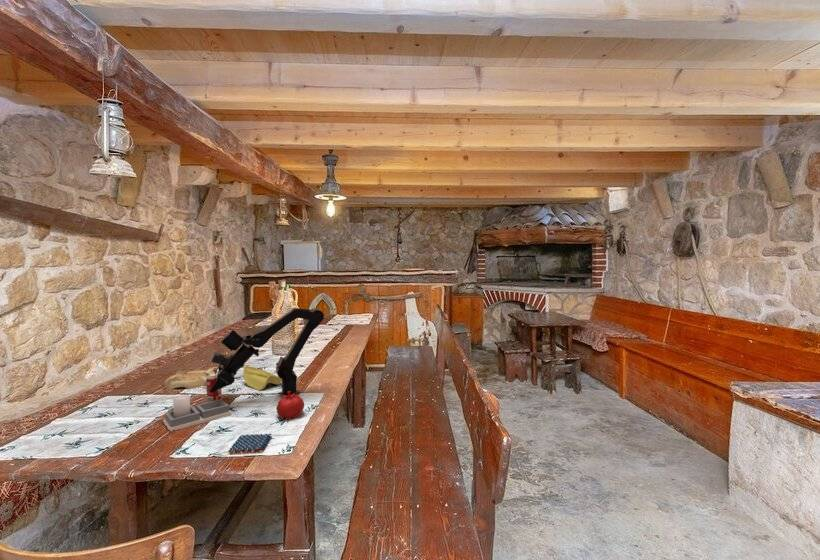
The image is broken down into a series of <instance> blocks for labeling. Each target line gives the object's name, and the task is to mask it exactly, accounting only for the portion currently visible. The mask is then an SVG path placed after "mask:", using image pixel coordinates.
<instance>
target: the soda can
mask: <svg viewBox="0 0 820 560" xmlns="http://www.w3.org/2000/svg"><path fill="white" fill-rule="evenodd" d="M216 381H217V373H216V374H213V375H209V376H207V379H206V386H205V387H206V402H210V401H214V400H219V399H222V400H223V397H222V395H223V393H222V388H221V389H219V390H217V391H215V392H213V393H211V392H210V389H211V388H212V387H213V385H214V384H215V382H216Z"/></svg>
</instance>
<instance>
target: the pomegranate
mask: <svg viewBox="0 0 820 560" xmlns="http://www.w3.org/2000/svg"><path fill="white" fill-rule="evenodd" d="M290 392H291V391H288V392H287V393H288V396H284V395H279V397H280V400H279V401H278V402H277V405H276V413H277V416H279V417H280V418H282V419H287V420H289V419H293V418H296V417H297V416H298V417H299V415H301V413H302V412H303V411H304V408H305V401H304V399H303V398H302V397H301V395H299V394H295V393H294V394H295V395H294V394H293V395H290Z"/></svg>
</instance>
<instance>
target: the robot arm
mask: <svg viewBox="0 0 820 560" xmlns="http://www.w3.org/2000/svg"><path fill="white" fill-rule="evenodd" d="M297 319H303V320H305V322H304V325H303V327H302V329H301V331H300V333H299V334H298V336H297V337H296V339H295V340H294V342H293V344H292V345H291V347H290V349H289V351H288V352H287V354H286V355H285V356H284V357H283V356H282V355H280V357H279V358H278V359H279V360H278V361H277V363H275V365H276V366H275V371H276V372H275V373H276V374H277V376H278V377H280V378H281V379H282V381H281V391H280V392H278V395H279V396H281V395H284V396H288V393H287V392H288V391H291V392H290V395H293V394H294V393H295V394H298V395H299V394H300V393H301V392H300V391H299V390H297V379H298V375H297V374H296V372H295V371H294V368H295V365H296V360H297V358H298V356H299V355H300V353H301V351H302V350H303V348H304V346H305V345H306V343H307V342H308V339H309V338H310V336H311V334H312V332H313V331H315V329H316V328H317V327H319V325H320V324H322V322H323V320H324V319H325V316H324V312H323V311H321V309H319V308H311V309H307V308H299V307H293V308H291V310H289V311H288V312H287V313H285V314H284V315H282V316H281V317H280V318H278V319H277V320H275V321H274V322H272V323H270V324H269V325H268V326H265V327H263V328H259V329H258V330H256V331H254V332H252V334H249V335H244V336H242V335H241V334H239V333H238V332H237V331H236V330H235V329H231V330H230V331H229V332H228V333H226V334H225V335H224V336H223V337H222V339H220V341H219V343H221V344H222V345H224V346H225V347H226V348H227V349H228V350H230V352H231V351H235V352H234V353H233V354H230V355H226V354H224V353H220V352H217V351H215V352H214V354H213V356H212V358H211V361H210V362H211V363H213V364H219V365H218V368H217V372H216V374H217V381H216V382H215V384H214V385H213V387H212V388H211V389H210V392H211V393H213V392H215V391H217V390H219V389H221V390H222V389H223V388H225V387H228V386H232V385H233V383H234V382H235V379H236V378H235V376H236V375H237V374H238V371H239V370H240V369H241V368H244V367H245V364H246V363H247V362H248V361H249V359H251V358H252V356H253V355H255V357H259V356H260V353H259V352H260V348H262V347H264V346H265V345H266V344H267V343H268V342H269V340H270V339H271V338H272V337H273V336H274V335H275V334H276V333H278V332H280V330H282V329H283V328H285V327H287V326H288V325H290V324H292V322H293V321H295V320H297ZM295 394H294V395H295ZM284 396H283V397H284Z"/></svg>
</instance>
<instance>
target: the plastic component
mask: <svg viewBox="0 0 820 560" xmlns="http://www.w3.org/2000/svg"><path fill="white" fill-rule="evenodd" d="M242 375H243V380H244V382H245V384H246V385H247V386H248V387H251V388H253V389H255V390H257V391H262V390H264V389H265V388H266V387H267V385H268V384H274V385H277V386H280V385H282V379H281V378H280V377H279V376H278V375H276V374H273V373H271V372H268V371H266V370H264V369H260V368H257V367H254V366H251V365H250V366H249V365H244V366H243V373H242Z"/></svg>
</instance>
